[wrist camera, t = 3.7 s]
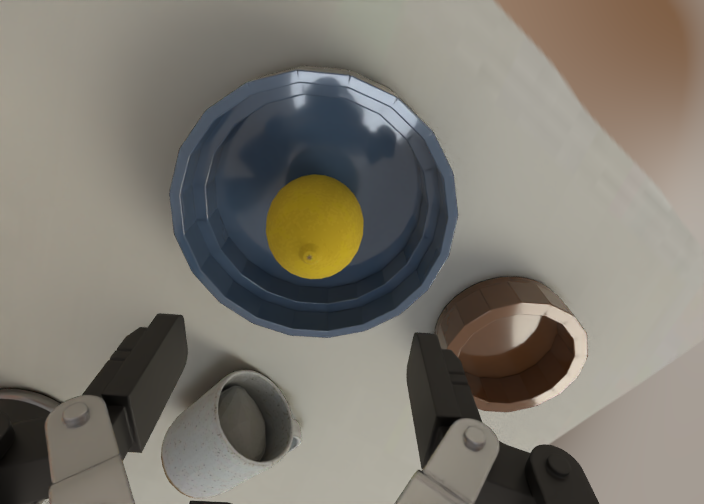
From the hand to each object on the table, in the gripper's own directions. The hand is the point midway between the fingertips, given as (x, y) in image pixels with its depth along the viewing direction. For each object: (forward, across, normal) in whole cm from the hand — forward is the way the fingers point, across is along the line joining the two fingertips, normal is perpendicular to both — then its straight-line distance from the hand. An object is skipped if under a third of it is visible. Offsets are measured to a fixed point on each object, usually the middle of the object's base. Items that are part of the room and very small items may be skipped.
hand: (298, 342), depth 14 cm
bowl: (+15, 0, 0) cm, 15 cm away
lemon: (+14, 0, 0) cm, 14 cm away
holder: (+15, -15, +10) cm, 23 cm away
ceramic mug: (+15, +5, +20) cm, 25 cm away
